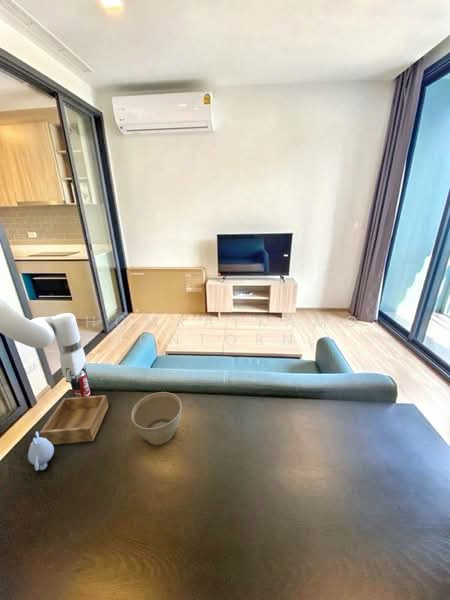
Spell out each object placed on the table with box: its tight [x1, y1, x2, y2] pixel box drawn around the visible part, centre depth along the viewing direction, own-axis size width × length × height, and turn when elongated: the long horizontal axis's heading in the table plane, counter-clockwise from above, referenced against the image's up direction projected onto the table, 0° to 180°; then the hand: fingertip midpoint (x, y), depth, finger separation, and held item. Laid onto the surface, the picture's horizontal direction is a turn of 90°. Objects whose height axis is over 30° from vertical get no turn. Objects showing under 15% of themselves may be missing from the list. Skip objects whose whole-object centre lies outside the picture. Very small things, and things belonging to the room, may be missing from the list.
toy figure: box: [27, 431, 55, 472], centre depth 74 cm, size 11×6×12 cm, turn 21°
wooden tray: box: [39, 394, 109, 446], centre depth 90 cm, size 16×16×6 cm
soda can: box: [72, 370, 92, 397], centre depth 101 cm, size 5×5×12 cm
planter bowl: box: [130, 391, 182, 446], centre depth 85 cm, size 16×16×11 cm
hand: (80, 384), depth 101 cm, fingers closed on soda can, 5 cm apart
